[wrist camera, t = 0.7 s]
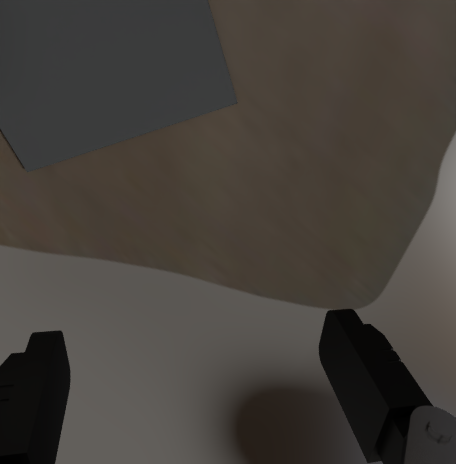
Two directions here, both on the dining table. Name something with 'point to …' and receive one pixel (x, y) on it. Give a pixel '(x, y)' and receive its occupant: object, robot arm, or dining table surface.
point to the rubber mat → (104, 72)
